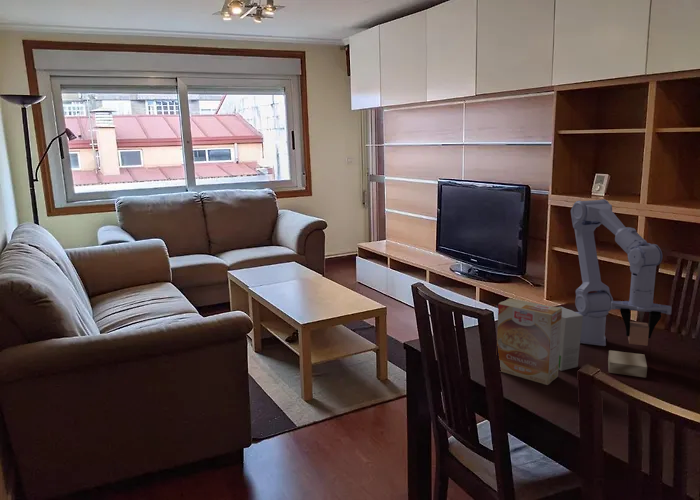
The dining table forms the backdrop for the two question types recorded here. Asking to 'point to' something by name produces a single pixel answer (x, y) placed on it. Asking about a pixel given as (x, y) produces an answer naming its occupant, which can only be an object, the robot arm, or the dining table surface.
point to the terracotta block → (638, 333)
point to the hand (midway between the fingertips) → (638, 336)
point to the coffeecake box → (529, 340)
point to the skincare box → (569, 339)
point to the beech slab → (627, 363)
